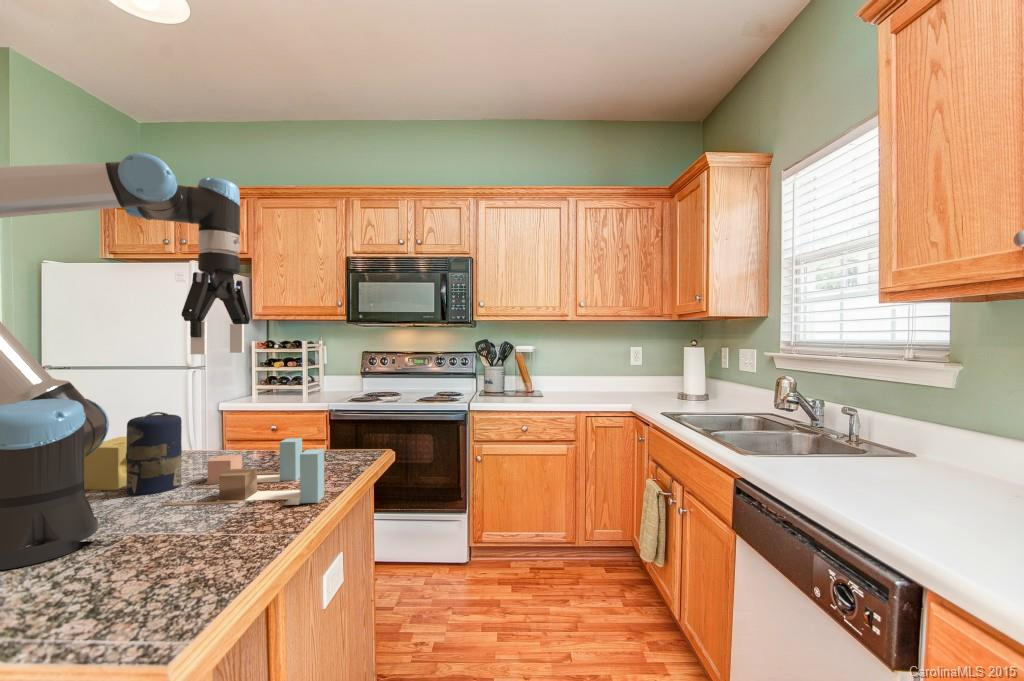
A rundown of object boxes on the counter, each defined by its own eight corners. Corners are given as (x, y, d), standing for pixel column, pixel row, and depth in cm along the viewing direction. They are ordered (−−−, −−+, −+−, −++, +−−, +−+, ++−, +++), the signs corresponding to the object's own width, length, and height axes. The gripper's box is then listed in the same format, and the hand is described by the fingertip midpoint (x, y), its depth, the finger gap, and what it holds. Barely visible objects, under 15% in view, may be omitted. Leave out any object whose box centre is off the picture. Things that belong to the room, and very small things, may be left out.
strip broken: (294, 486, 104) (294, 442, 104) (204, 489, 103) (204, 444, 103) (303, 479, 110) (303, 437, 110) (218, 481, 108) (218, 439, 108)
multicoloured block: (316, 504, 93) (316, 454, 93) (215, 507, 91) (215, 457, 91) (325, 494, 98) (325, 448, 98) (230, 497, 97) (230, 450, 97)
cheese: (159, 477, 113) (158, 437, 113) (117, 492, 102) (116, 447, 102) (120, 476, 114) (120, 436, 114) (74, 490, 103) (74, 446, 103)
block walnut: (245, 499, 92) (245, 475, 92) (219, 500, 92) (219, 475, 92) (257, 491, 97) (257, 468, 97) (232, 492, 97) (232, 468, 97)
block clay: (230, 482, 103) (230, 460, 103) (207, 483, 103) (207, 461, 103) (241, 476, 108) (241, 454, 108) (219, 476, 108) (219, 455, 108)
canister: (117, 497, 98) (117, 413, 98) (167, 485, 106) (167, 407, 106) (140, 505, 93) (139, 417, 93) (190, 491, 102) (190, 410, 102)
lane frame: (237, 510, 90) (237, 502, 90) (162, 513, 89) (162, 504, 89) (282, 478, 111) (282, 471, 111) (222, 480, 110) (222, 473, 110)
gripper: (200, 241, 86) (199, 355, 86) (266, 264, 111) (265, 352, 111) (159, 241, 85) (158, 355, 85) (234, 263, 110) (234, 352, 110)
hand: (219, 353), depth 98 cm, fingers open, 13 cm apart
